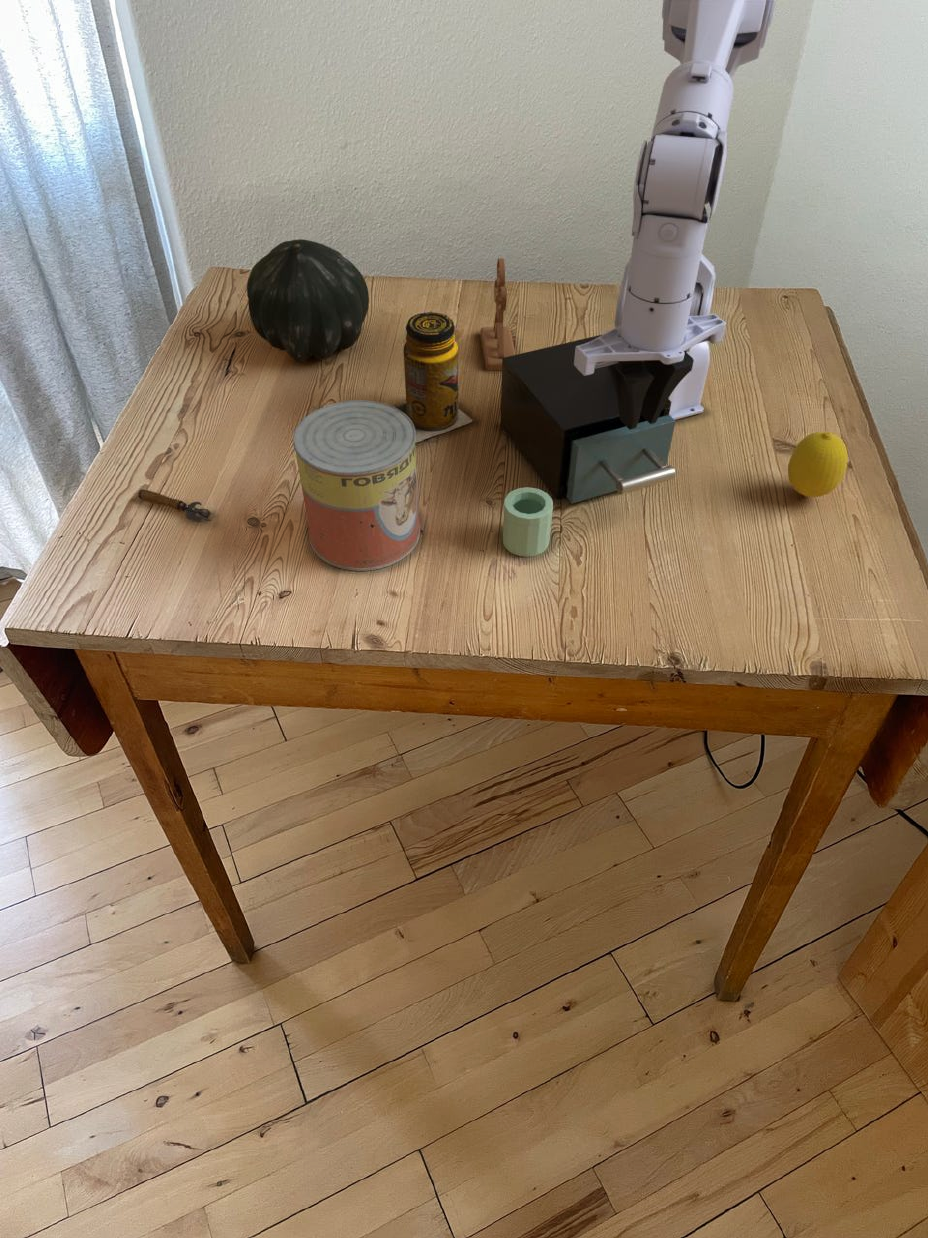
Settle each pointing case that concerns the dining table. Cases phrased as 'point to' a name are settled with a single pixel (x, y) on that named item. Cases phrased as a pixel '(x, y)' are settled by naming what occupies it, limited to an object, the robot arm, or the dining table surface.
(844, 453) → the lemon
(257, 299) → the squash
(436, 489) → the dining table surface
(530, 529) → the jar
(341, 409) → the canned food
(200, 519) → the can opener
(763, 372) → the dining table surface
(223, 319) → the dining table surface
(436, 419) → the condiment
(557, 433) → the cabinet
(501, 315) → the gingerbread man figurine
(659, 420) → the drawer
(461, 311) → the dining table surface
